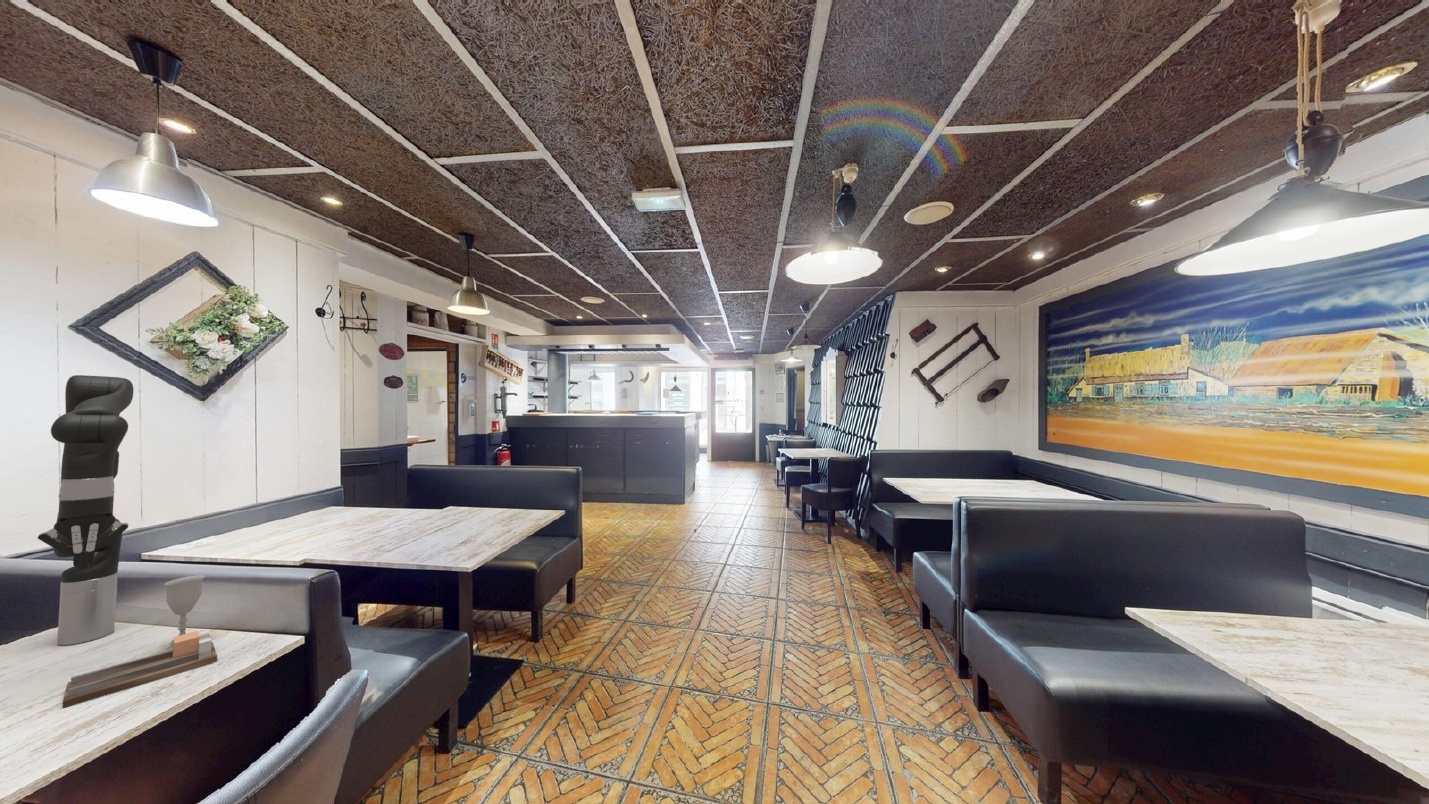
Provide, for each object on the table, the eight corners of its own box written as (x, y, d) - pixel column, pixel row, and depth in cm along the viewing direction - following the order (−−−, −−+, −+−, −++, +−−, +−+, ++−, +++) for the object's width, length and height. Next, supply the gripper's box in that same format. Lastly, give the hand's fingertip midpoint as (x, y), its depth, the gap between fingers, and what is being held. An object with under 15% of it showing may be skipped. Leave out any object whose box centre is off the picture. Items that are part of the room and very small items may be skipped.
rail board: (67, 688, 99) (68, 664, 99) (212, 647, 117) (213, 627, 117) (62, 708, 92) (63, 682, 93) (216, 661, 110) (217, 640, 110)
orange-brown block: (172, 656, 109) (173, 637, 110) (196, 649, 113) (197, 630, 113) (173, 663, 106) (174, 643, 107) (198, 656, 110) (199, 636, 110)
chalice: (176, 653, 114) (180, 585, 115) (152, 652, 114) (155, 585, 115) (209, 638, 121) (212, 575, 122) (186, 638, 121) (189, 575, 122)
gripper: (133, 490, 111) (129, 556, 111) (39, 498, 101) (34, 571, 100) (133, 493, 107) (129, 563, 106) (34, 502, 96) (29, 579, 96)
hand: (83, 567), depth 103 cm, fingers closed
